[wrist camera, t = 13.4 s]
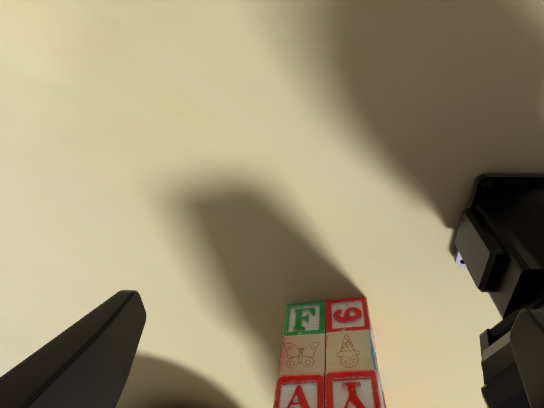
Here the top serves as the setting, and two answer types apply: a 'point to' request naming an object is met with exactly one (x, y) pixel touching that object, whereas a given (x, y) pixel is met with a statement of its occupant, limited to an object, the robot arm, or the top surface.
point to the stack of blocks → (328, 357)
